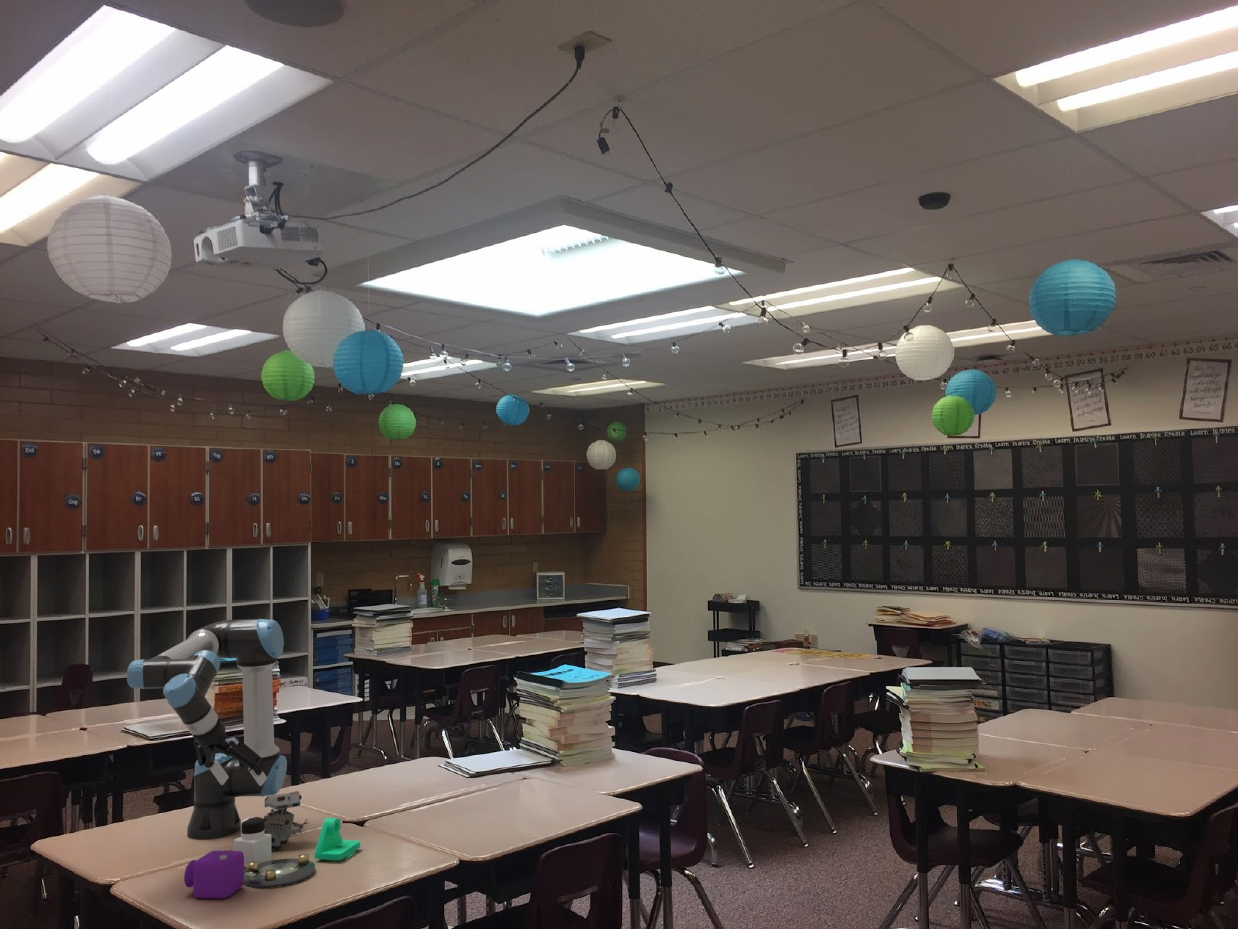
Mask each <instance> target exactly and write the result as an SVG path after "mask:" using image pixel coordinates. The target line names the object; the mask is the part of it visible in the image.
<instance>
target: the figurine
mask: <svg viewBox="0 0 1238 929" xmlns="http://www.w3.org/2000/svg"><path fill="white" fill-rule="evenodd" d="M301 800H302V795H301V794H300V790H299V791H298V790H296V791H293V792H292V791H291V792H286V793H281V794H280V793H279V794H275V795H270V796H267V797H266V796H265V798H264V803H263V804H264V808H272V809H270V812H268V813H266V814H265V815H264V816H263V819H264V833H263V834H271V852H272V851H273V852H279V851H280V850H281V849H282V846H281V844H284V843H285V844H286V843H288V842H289V839H290V838H291V835H293V836H295V835H296V834H297V833H300V834H301V833H302V832H303V828H304V826H305V825H308V824H309V820H308V819H305V821H304V822H303V823H298V822H297V821H294V818H295V814H294V813H292V812H290V811H287V810H288V809H290V808H297V807H300V806H301V804H302V803H301ZM293 827H294V829H293ZM296 827H297V828H298V829H295V828H296Z"/></svg>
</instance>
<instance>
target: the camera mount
mask: <svg viewBox="0 0 1238 929" xmlns="http://www.w3.org/2000/svg"><path fill="white" fill-rule="evenodd" d="M341 826H342V821H341V819H340V818H339V817H336V818H335V817H326V818H325V819H324V820H323V822H322V826H321V828H320V833H319V836H318V840H317V842H316V847H315V850H314V859H315V860H330V861H339V860H348V859H349V858H350V857H349V856H350V855H352V856H354V855H355V854H356V851H357V850H358V849H360V848H361V841H360V840H351V839H343V838H342V836H341V834H340V831H341ZM354 853H355V854H354ZM353 854H354V855H353ZM348 857H349V858H348ZM343 858H345V859H343ZM347 858H348V859H347Z"/></svg>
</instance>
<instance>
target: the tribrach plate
mask: <svg viewBox="0 0 1238 929" xmlns="http://www.w3.org/2000/svg"><path fill="white" fill-rule="evenodd" d="M315 872H316V865H315V863H314V862H313V861H312V860H310V854H309V853H300V854H299V855H297V858H278V859H273V860H272V859H271V861H267V862H263V863H260V864H258V862H257V861H251V862H248V863H247V868H246V869H244V882H243V885H245V884H246V885H245V886H247V887H250V886H252V887H251V888H254V887H258V888H257V889H272V888H271V887H277V888H279V887H278V886H284V887H287V886H286V885H289V886H292V885H291V884H293V885H295V884H294V883H297V884H298V883H302V882H305V881H306V880H305V879H307V880H308V878H309V877H310V878H312V877H313V876H314V875H315ZM313 874H314V875H313ZM312 875H313V876H312ZM311 876H312V877H311ZM310 878H309V879H310ZM304 880H305V881H304Z"/></svg>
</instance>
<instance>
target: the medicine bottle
mask: <svg viewBox="0 0 1238 929" xmlns="http://www.w3.org/2000/svg"><path fill="white" fill-rule="evenodd" d="M264 830H265V828H264V817H260V816H251V817H247V818H245V819H243V820H242V821H241V829H240V836H239V837H237V838H235V839H233V850H232V851H241V852H243V854H244V867H246V869H247V863H248V862H251V861H257V862H258V864H260V863H263V862H267V861H272V851H271V834H264Z"/></svg>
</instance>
